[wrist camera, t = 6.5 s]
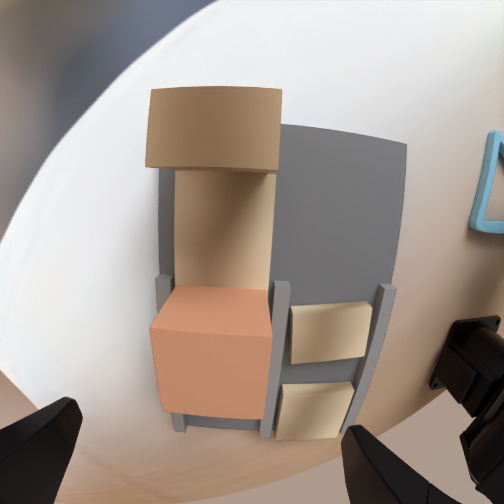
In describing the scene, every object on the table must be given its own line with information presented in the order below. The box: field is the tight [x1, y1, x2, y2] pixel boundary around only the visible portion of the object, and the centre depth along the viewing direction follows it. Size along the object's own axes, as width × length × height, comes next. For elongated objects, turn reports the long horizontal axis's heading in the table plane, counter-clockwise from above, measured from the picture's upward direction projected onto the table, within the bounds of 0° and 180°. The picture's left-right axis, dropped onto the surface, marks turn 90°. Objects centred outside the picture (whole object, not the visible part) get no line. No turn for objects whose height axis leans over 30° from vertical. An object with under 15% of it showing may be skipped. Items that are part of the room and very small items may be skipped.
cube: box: [149, 284, 273, 419], centre depth 12 cm, size 4×4×4 cm
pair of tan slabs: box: [274, 301, 372, 441], centre depth 16 cm, size 5×11×1 cm, turn 177°
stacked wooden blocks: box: [145, 86, 282, 299], centre depth 12 cm, size 5×13×6 cm, turn 177°
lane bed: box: [155, 124, 407, 438], centre depth 15 cm, size 13×20×2 cm, turn 177°
